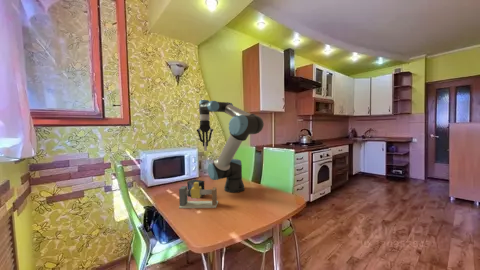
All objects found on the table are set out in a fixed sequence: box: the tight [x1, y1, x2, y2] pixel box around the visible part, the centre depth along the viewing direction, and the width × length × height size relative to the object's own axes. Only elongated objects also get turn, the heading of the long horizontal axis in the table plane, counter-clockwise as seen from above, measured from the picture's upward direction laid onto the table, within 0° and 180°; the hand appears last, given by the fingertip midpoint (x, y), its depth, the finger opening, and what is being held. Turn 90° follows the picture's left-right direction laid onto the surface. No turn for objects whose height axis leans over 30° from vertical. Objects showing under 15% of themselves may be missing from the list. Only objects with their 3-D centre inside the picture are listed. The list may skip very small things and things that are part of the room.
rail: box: [178, 185, 219, 209], centre depth 124 cm, size 22×9×11 cm, turn 88°
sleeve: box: [191, 182, 202, 199], centre depth 123 cm, size 5×5×9 cm
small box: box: [186, 179, 205, 199], centre depth 141 cm, size 11×6×10 cm, turn 62°
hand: (205, 150), depth 158 cm, fingers closed
